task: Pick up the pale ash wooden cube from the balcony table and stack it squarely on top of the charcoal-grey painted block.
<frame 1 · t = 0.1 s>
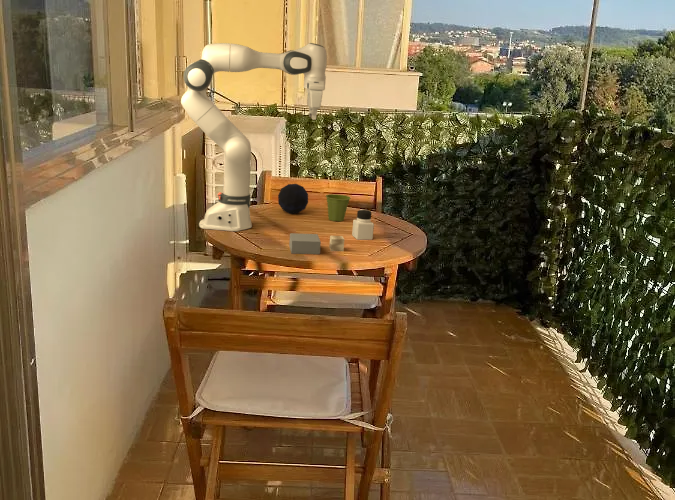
hand: (312, 118, 267), 48 cm above the table, tool pointing down, fingers open, 8 cm apart
grey block: (304, 249, 249), on the table
medicine bottle: (362, 238, 273), on the table
plant pot: (336, 220, 300), on the table
ash cube: (336, 249, 253), on the table
decorative orb: (292, 213, 308), on the table
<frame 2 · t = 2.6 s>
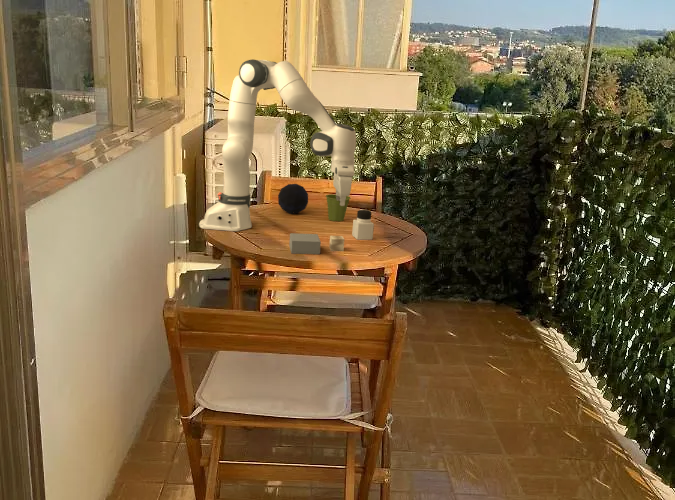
hand: (340, 202, 248), 19 cm above the table, tool pointing down, fingers open, 8 cm apart
nothing on the table moved.
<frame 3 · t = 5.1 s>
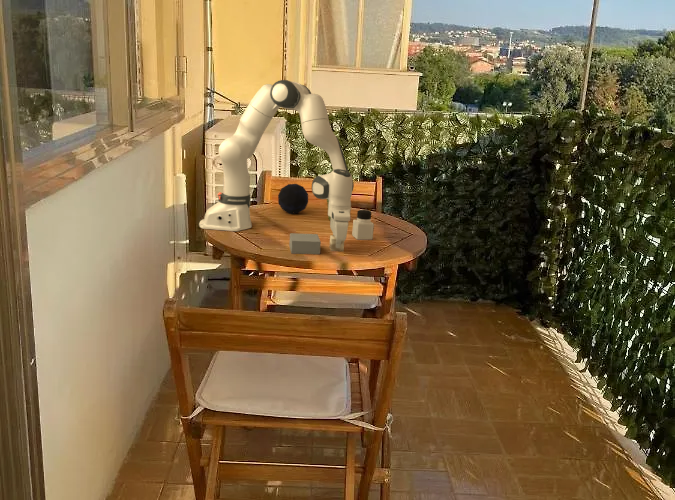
hand: (336, 245, 252), 2 cm above the table, tool pointing down, fingers closed on ash cube, 5 cm apart
ash cube: (336, 249, 253), on the table, touching gripper
everything else where it was.
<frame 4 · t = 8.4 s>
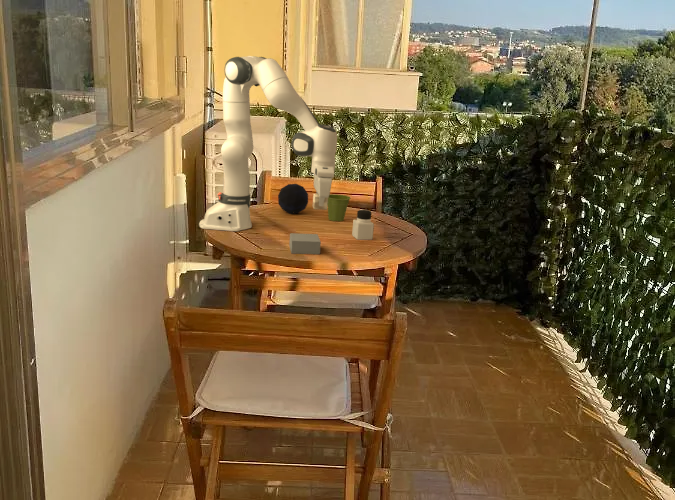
hand: (319, 204, 246), 18 cm above the table, tool pointing down, fingers closed on ash cube, 5 cm apart
ash cube: (319, 208, 246), point 17 cm above the table, touching gripper
everything else where it was.
when the fingers open (8 cm above the table, at t = 11.7 s): ash cube drops 1 cm, resting on grey block.
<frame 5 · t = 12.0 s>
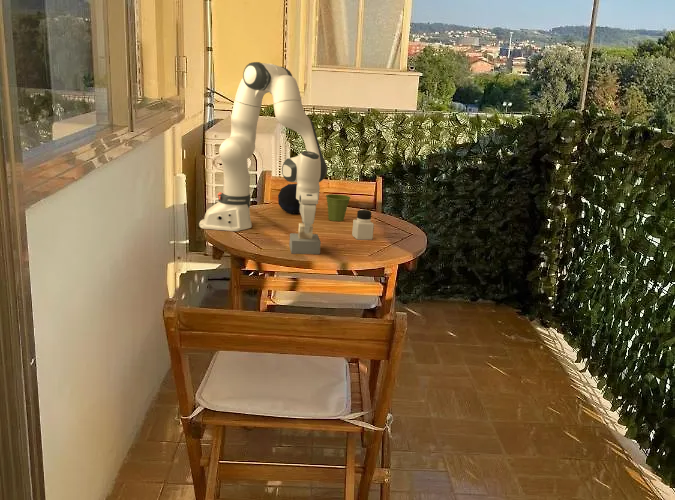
hand: (305, 229, 247), 8 cm above the table, tool pointing down, fingers open, 8 cm apart
ash cube: (305, 237, 248), point 5 cm above the table, touching grey block
everything else where it was.
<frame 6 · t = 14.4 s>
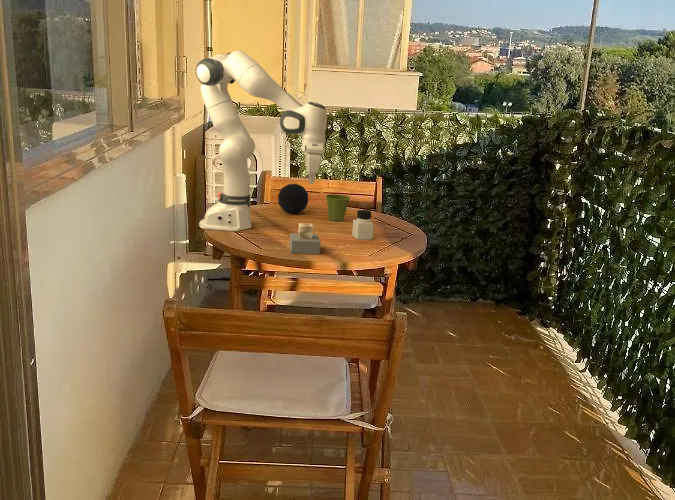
hand: (310, 181, 249), 26 cm above the table, tool pointing down, fingers open, 8 cm apart
nothing on the table moved.
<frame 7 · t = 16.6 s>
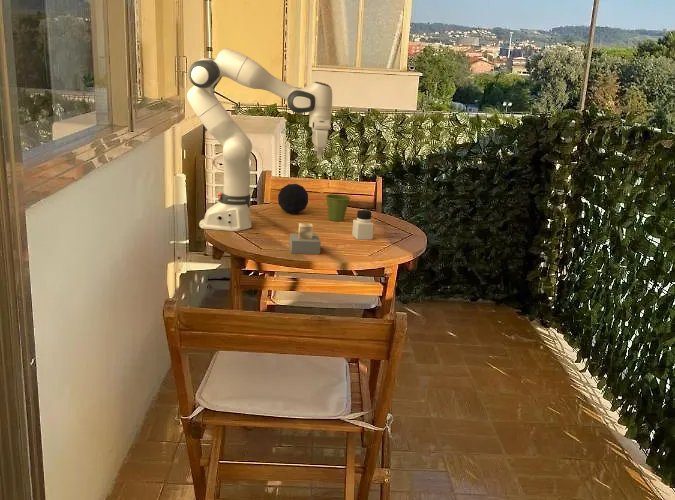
hand: (317, 156, 264), 33 cm above the table, tool pointing down, fingers open, 8 cm apart
nothing on the table moved.
at the end: ash cube 0.0 cm off-centre on the grey block, point 5.0 cm above the grey block's base; ash cube tilted 0°; the gripper is holding nothing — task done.
